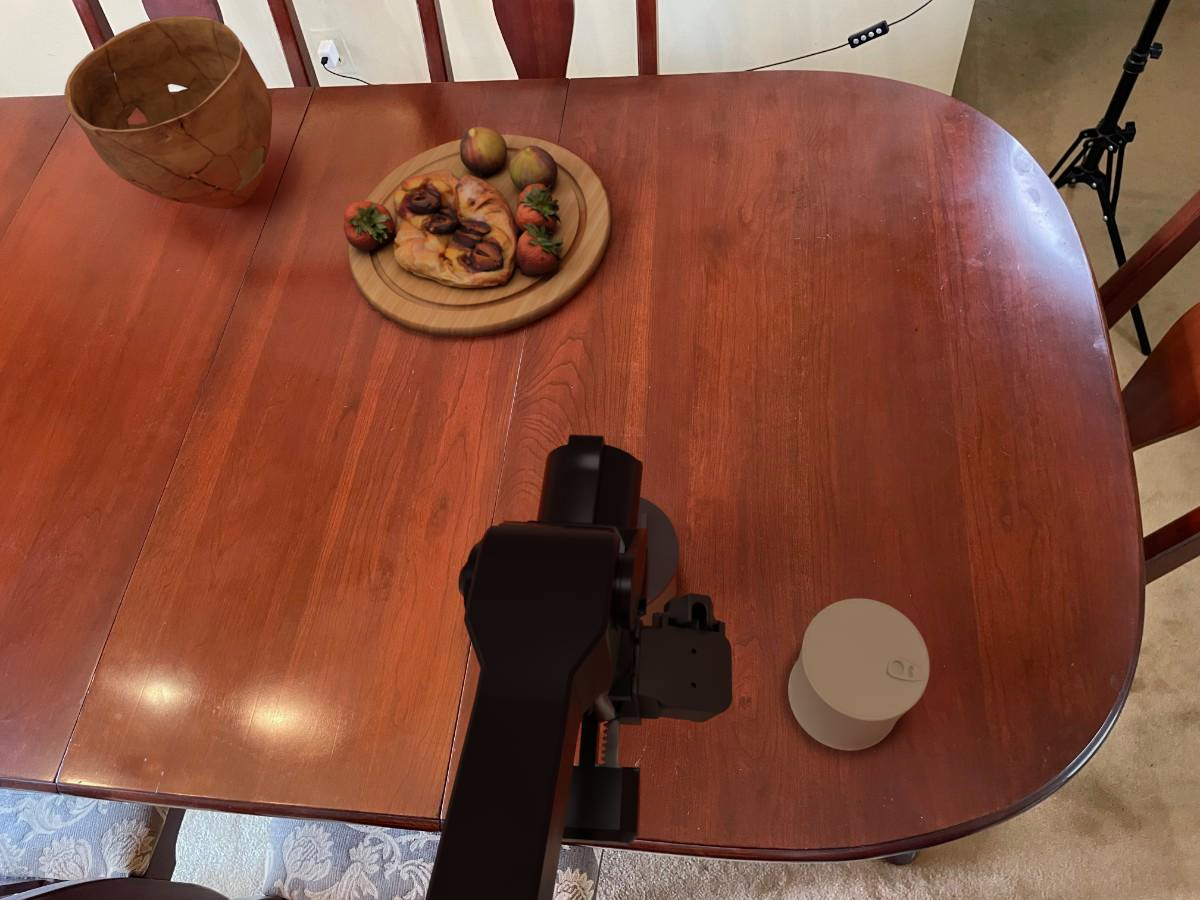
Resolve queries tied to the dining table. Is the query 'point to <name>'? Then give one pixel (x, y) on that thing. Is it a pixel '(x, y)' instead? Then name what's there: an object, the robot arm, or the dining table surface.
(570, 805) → the robot arm
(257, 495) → the dining table surface
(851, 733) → the can
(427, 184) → the wooden plate
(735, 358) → the dining table surface
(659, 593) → the round container with rails
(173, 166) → the bowl
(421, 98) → the dining table surface
